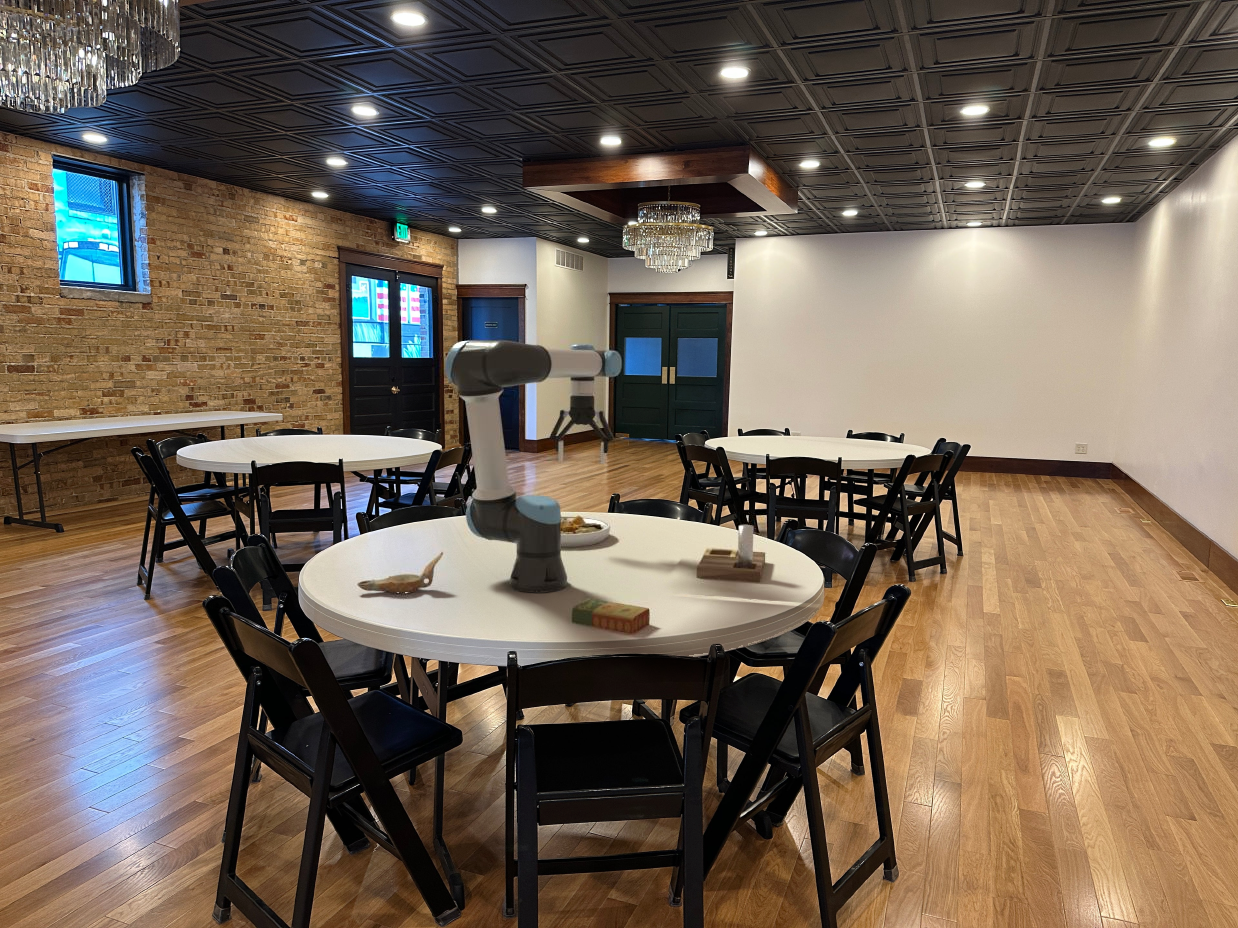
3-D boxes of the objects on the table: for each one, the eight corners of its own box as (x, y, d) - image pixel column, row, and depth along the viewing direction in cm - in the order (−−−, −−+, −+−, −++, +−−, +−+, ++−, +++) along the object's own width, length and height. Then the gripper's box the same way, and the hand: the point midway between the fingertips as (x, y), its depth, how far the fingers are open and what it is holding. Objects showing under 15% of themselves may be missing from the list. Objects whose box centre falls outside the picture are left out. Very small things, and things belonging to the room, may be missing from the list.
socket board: (759, 585, 214) (760, 570, 213) (696, 581, 218) (696, 565, 217) (764, 565, 235) (765, 551, 235) (707, 561, 239) (707, 547, 239)
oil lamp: (444, 593, 204) (443, 555, 203) (356, 599, 199) (355, 559, 198) (443, 584, 213) (442, 547, 211) (358, 589, 207) (357, 551, 206)
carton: (632, 636, 175) (632, 617, 175) (570, 624, 183) (570, 606, 182) (649, 625, 182) (650, 607, 182) (589, 614, 190) (589, 596, 190)
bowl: (624, 535, 276) (624, 512, 275) (584, 554, 249) (584, 529, 247) (548, 526, 288) (548, 505, 287) (502, 543, 261) (502, 520, 260)
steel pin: (751, 578, 217) (753, 528, 216) (736, 577, 218) (738, 527, 216) (752, 574, 221) (754, 525, 219) (737, 573, 222) (739, 524, 220)
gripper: (624, 395, 250) (623, 462, 253) (547, 393, 255) (546, 459, 257) (619, 396, 243) (618, 465, 245) (540, 394, 248) (539, 462, 250)
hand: (581, 462), depth 251 cm, fingers open, 13 cm apart
